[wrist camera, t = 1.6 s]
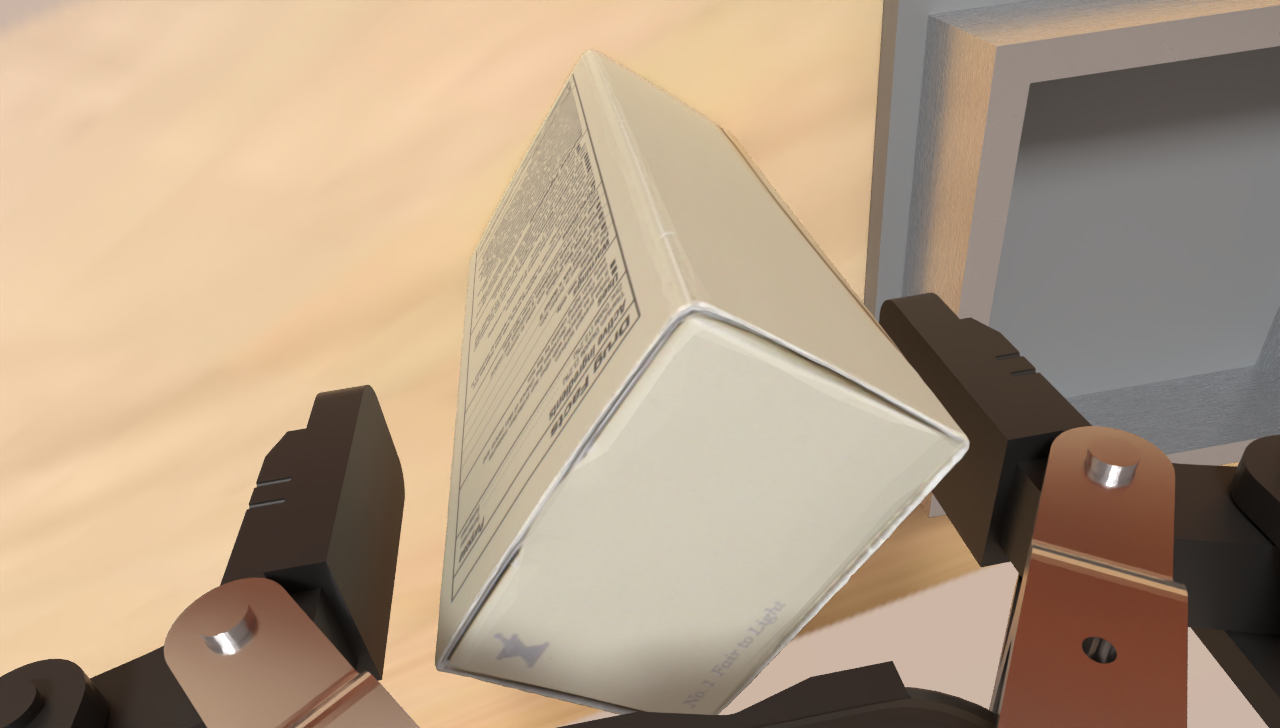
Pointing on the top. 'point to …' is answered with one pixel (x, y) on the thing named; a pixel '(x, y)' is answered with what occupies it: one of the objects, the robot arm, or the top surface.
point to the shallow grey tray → (985, 166)
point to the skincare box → (663, 417)
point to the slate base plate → (1111, 211)
